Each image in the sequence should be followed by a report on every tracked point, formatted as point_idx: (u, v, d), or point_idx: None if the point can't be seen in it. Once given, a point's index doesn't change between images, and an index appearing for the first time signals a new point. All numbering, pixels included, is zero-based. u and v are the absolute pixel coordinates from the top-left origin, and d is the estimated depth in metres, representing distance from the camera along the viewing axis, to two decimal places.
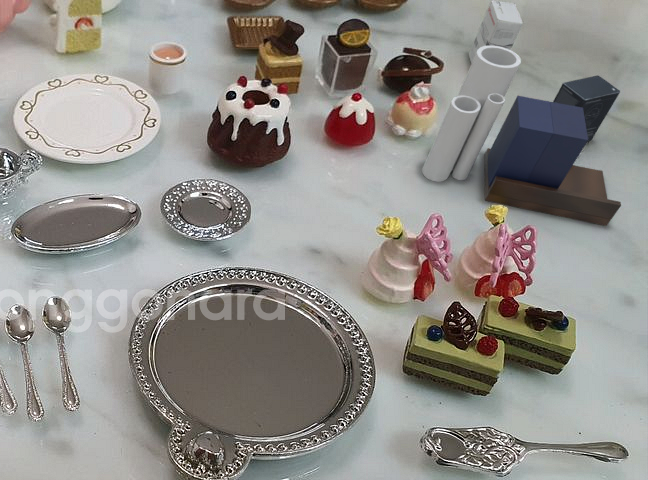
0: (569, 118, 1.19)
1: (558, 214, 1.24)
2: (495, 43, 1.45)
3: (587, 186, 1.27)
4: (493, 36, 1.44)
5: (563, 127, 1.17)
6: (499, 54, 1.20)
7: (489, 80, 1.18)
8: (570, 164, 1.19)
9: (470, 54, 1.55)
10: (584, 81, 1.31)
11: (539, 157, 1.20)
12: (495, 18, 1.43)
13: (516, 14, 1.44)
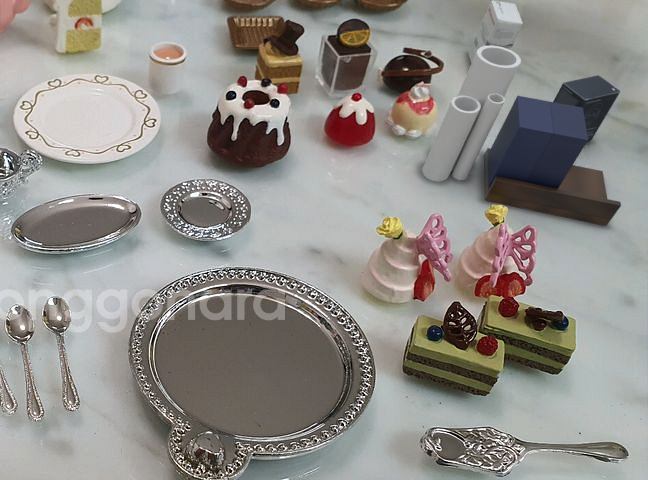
0: (569, 118, 1.19)
1: (558, 214, 1.24)
2: (495, 43, 1.45)
3: (587, 186, 1.27)
4: (493, 36, 1.44)
5: (563, 127, 1.17)
6: (499, 54, 1.20)
7: (489, 80, 1.18)
8: (570, 164, 1.19)
9: (470, 54, 1.55)
10: (584, 81, 1.31)
11: (539, 157, 1.20)
12: (495, 18, 1.43)
13: (516, 14, 1.44)
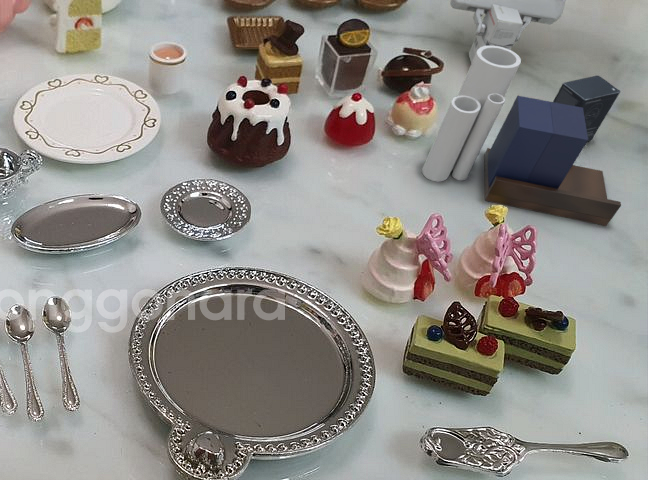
0: (569, 118, 1.19)
1: (558, 214, 1.24)
2: (495, 43, 1.45)
3: (587, 186, 1.27)
4: (493, 36, 1.44)
5: (563, 127, 1.17)
6: (499, 54, 1.20)
7: (489, 80, 1.18)
8: (570, 164, 1.19)
9: (470, 54, 1.54)
10: (584, 81, 1.31)
11: (539, 157, 1.20)
12: (495, 18, 1.43)
13: (516, 14, 1.44)
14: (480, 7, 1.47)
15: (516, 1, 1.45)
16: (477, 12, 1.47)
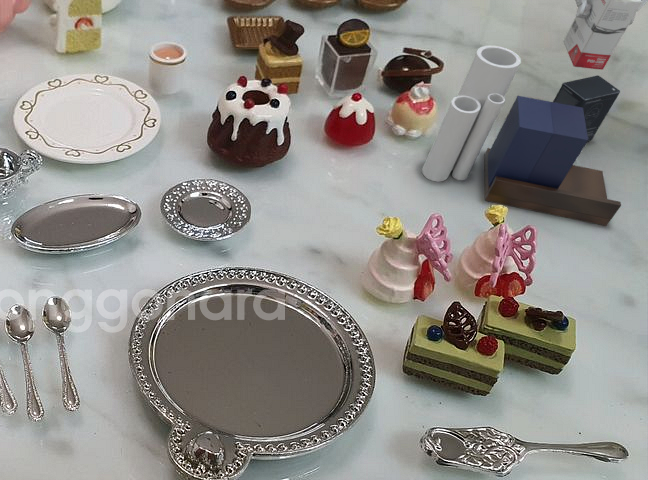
0: (569, 118, 1.19)
1: (558, 214, 1.24)
2: (604, 27, 1.17)
3: (587, 186, 1.27)
4: (603, 18, 1.16)
5: (563, 127, 1.17)
6: (499, 54, 1.20)
7: (489, 80, 1.18)
8: (570, 164, 1.19)
9: (566, 41, 1.27)
10: (584, 81, 1.31)
11: (539, 157, 1.20)
12: None
13: None
14: None
15: None
16: None
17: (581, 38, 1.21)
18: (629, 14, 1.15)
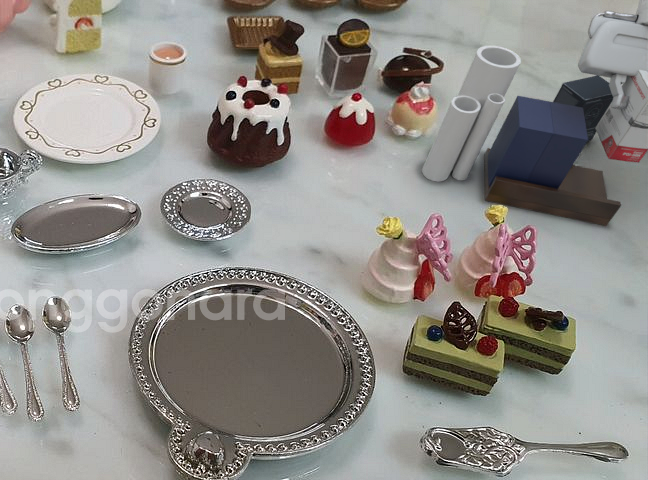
0: (569, 118, 1.19)
1: (558, 214, 1.24)
2: (642, 121, 1.11)
3: (587, 186, 1.27)
4: (641, 113, 1.10)
5: (563, 127, 1.17)
6: (499, 54, 1.20)
7: (489, 80, 1.18)
8: (570, 164, 1.19)
9: (599, 129, 1.20)
10: (584, 81, 1.31)
11: (539, 157, 1.20)
12: (645, 89, 1.09)
13: None
14: (621, 73, 1.13)
15: None
16: (617, 79, 1.13)
17: (617, 130, 1.15)
18: None
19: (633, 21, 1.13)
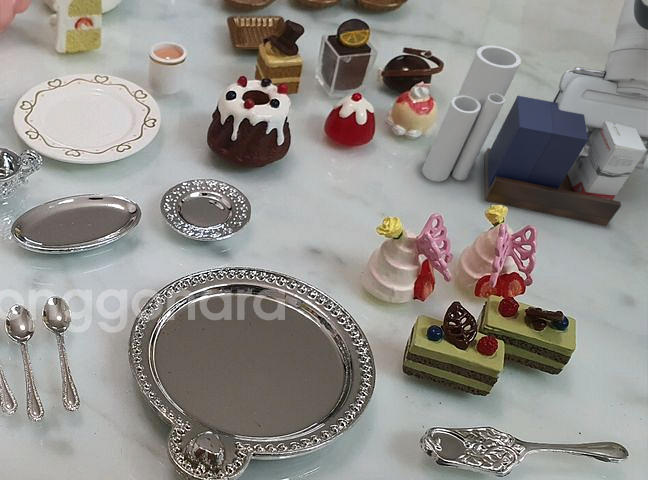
0: (569, 118, 1.19)
1: (558, 214, 1.24)
2: (609, 171, 1.18)
3: None
4: (607, 163, 1.17)
5: (563, 127, 1.17)
6: (499, 54, 1.20)
7: (489, 80, 1.18)
8: (570, 164, 1.19)
9: (570, 174, 1.27)
10: None
11: (539, 157, 1.20)
12: (610, 142, 1.16)
13: (636, 136, 1.17)
14: (590, 126, 1.20)
15: (636, 120, 1.18)
16: None
17: (586, 177, 1.22)
18: (634, 161, 1.16)
19: (601, 77, 1.20)
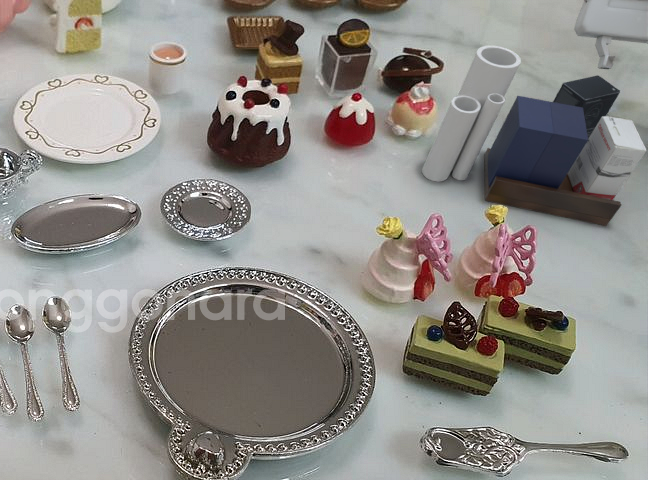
0: (569, 118, 1.19)
1: (558, 214, 1.24)
2: (609, 171, 1.18)
3: None
4: (607, 163, 1.17)
5: (563, 127, 1.17)
6: (499, 54, 1.20)
7: (489, 80, 1.18)
8: (570, 164, 1.19)
9: (570, 174, 1.27)
10: (584, 81, 1.31)
11: (539, 157, 1.20)
12: (611, 142, 1.16)
13: (636, 136, 1.17)
14: (617, 36, 1.16)
15: None
16: (602, 41, 1.17)
17: (586, 177, 1.22)
18: (634, 160, 1.16)
19: None
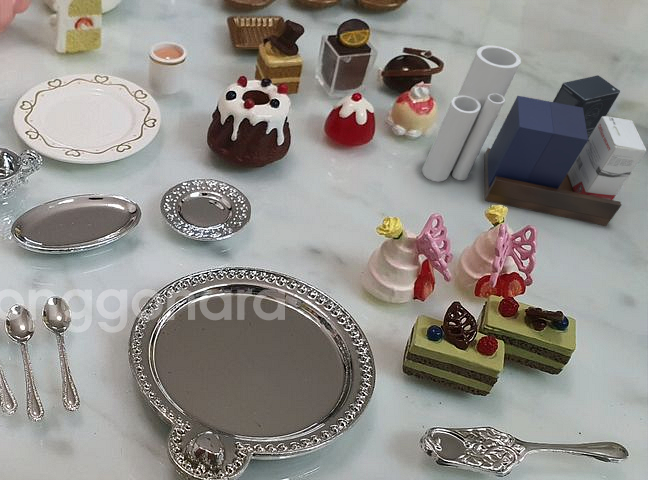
0: (569, 118, 1.19)
1: (558, 214, 1.24)
2: (609, 171, 1.18)
3: None
4: (607, 163, 1.17)
5: (563, 127, 1.17)
6: (499, 54, 1.20)
7: (489, 80, 1.18)
8: (570, 164, 1.19)
9: (570, 174, 1.27)
10: (584, 81, 1.31)
11: (539, 157, 1.20)
12: (611, 141, 1.16)
13: (636, 136, 1.17)
14: None
15: None
16: None
17: (586, 177, 1.22)
18: (634, 160, 1.16)
19: None
